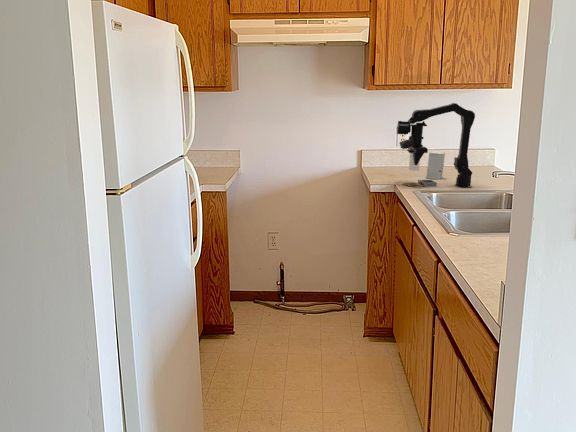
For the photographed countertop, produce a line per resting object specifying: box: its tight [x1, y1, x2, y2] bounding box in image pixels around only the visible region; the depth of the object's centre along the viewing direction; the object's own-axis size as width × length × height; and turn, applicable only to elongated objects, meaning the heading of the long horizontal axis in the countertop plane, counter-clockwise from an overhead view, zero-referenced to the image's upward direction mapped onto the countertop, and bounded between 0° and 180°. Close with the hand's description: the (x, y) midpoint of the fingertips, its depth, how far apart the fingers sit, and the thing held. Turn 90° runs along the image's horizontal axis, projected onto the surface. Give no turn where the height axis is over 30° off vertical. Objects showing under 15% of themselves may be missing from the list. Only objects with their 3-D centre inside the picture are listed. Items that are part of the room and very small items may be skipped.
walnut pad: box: [403, 181, 423, 187], centre depth 299 cm, size 7×7×1 cm
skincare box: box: [425, 151, 446, 180], centre depth 318 cm, size 8×6×15 cm
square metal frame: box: [417, 179, 438, 187], centre depth 300 cm, size 7×8×2 cm
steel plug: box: [408, 153, 421, 172], centre depth 296 cm, size 4×4×9 cm
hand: (414, 164), depth 296 cm, fingers closed on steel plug, 4 cm apart
